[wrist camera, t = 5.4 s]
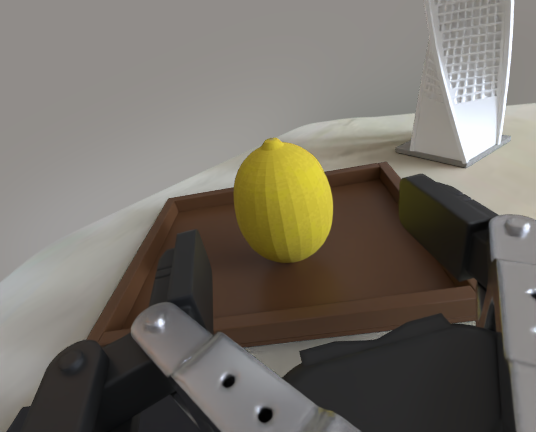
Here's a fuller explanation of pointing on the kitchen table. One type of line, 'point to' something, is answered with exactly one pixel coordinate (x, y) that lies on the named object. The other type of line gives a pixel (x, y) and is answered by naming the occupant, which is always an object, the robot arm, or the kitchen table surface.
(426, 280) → the tray
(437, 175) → the kitchen table surface
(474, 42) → the skyscraper
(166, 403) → the plate
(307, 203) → the lemon
